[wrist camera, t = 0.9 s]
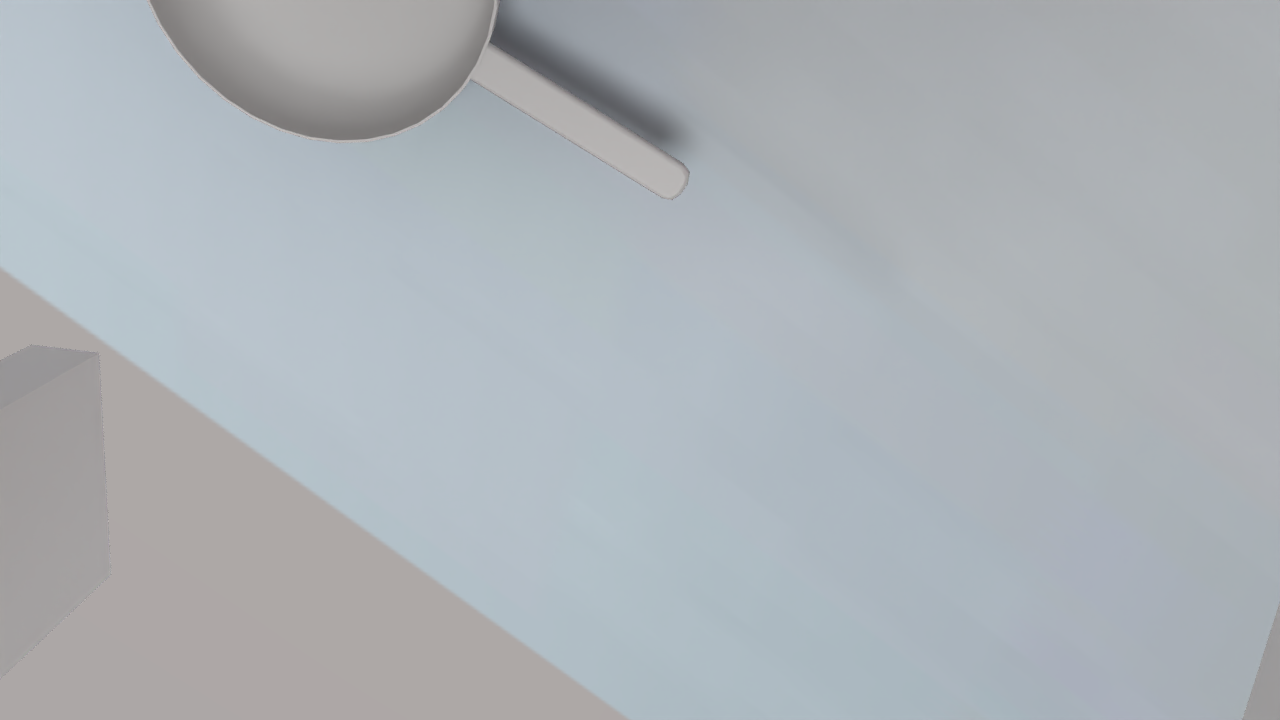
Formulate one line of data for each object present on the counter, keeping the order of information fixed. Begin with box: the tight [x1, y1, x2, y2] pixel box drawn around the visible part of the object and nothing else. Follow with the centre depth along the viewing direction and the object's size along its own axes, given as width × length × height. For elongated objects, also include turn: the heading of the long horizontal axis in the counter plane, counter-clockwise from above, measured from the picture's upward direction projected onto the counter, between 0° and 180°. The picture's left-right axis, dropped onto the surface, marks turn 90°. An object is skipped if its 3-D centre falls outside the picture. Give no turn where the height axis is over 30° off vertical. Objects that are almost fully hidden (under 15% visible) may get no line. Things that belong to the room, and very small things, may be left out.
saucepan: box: [147, 0, 690, 200], centre depth 35 cm, size 11×18×4 cm, turn 59°
